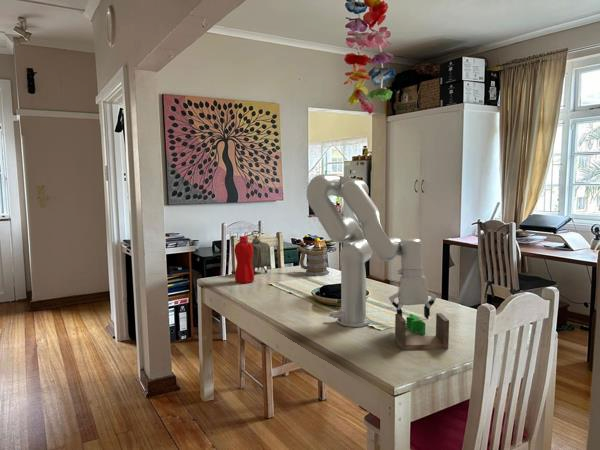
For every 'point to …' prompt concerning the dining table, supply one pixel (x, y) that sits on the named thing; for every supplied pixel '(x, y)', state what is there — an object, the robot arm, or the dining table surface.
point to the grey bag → (260, 253)
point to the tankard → (314, 261)
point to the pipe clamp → (415, 324)
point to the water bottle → (244, 261)
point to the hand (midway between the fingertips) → (413, 318)
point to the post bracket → (422, 341)
